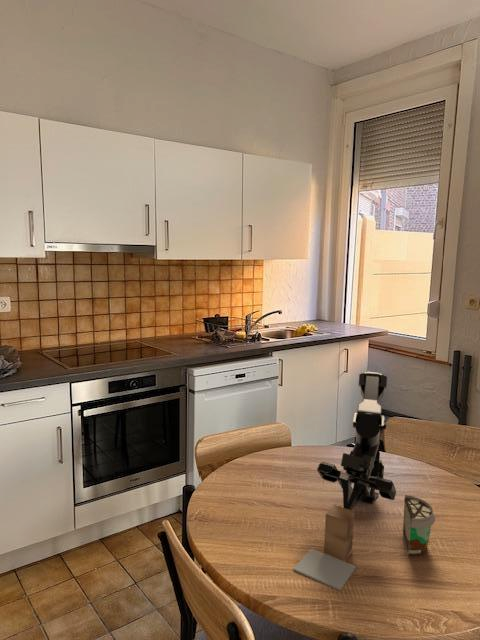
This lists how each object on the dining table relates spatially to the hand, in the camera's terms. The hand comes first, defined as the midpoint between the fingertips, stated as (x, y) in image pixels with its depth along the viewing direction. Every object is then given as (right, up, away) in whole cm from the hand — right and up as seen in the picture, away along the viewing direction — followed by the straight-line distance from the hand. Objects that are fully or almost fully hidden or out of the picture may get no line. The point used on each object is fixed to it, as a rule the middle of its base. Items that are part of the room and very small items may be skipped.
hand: (345, 513), depth 113 cm
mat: (-6, -9, -8) cm, 14 cm away
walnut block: (-2, -9, -2) cm, 9 cm away
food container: (+18, -9, +2) cm, 20 cm away
